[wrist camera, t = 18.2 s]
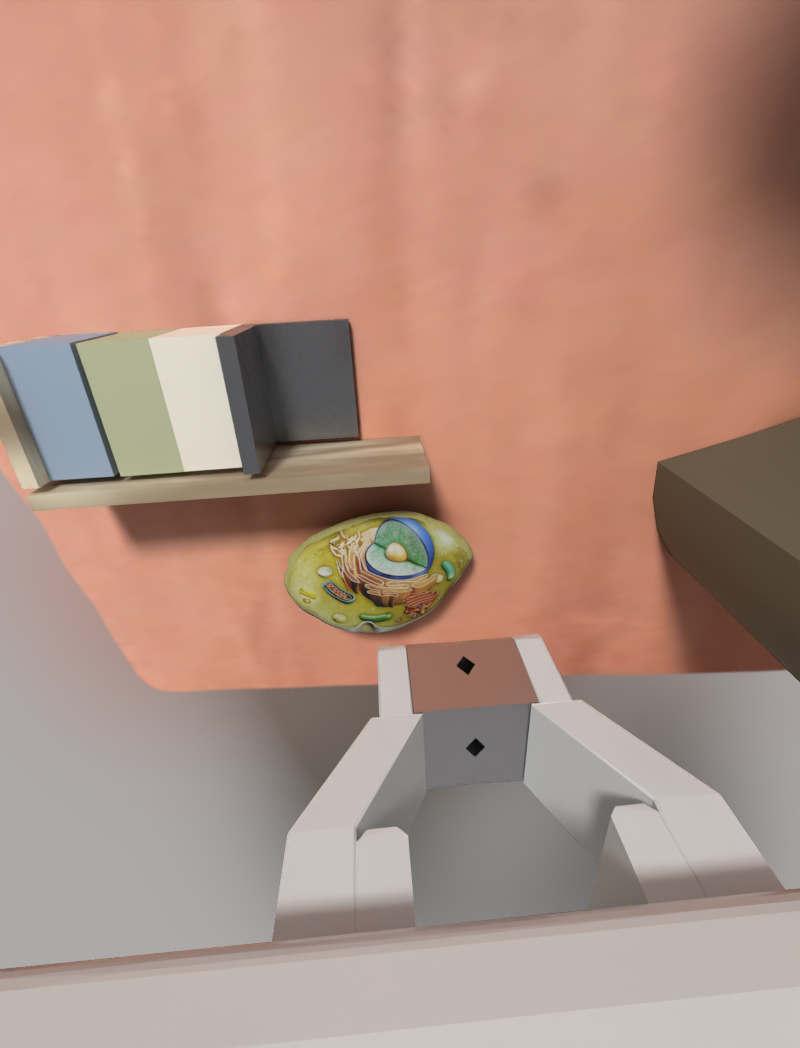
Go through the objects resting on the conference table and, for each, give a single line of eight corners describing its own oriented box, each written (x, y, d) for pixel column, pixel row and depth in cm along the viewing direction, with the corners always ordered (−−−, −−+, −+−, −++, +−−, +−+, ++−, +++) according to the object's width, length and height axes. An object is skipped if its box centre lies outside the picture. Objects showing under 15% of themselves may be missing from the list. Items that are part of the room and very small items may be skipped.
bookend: (243, 325, 33) (215, 336, 27) (348, 318, 33) (344, 329, 27) (264, 440, 36) (243, 474, 30) (358, 434, 37) (357, 467, 30)
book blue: (56, 335, 33) (-5, 347, 27) (117, 331, 33) (69, 343, 27) (96, 450, 36) (49, 480, 31) (150, 446, 36) (114, 476, 31)
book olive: (122, 332, 33) (75, 343, 27) (182, 328, 33) (147, 338, 28) (156, 446, 36) (120, 476, 31) (210, 443, 37) (184, 471, 31)
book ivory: (182, 328, 33) (147, 338, 28) (242, 324, 33) (219, 333, 28) (210, 442, 37) (184, 471, 31) (264, 438, 37) (247, 467, 31)
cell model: (264, 531, 38) (446, 524, 32) (312, 505, 44) (469, 497, 39) (290, 651, 40) (462, 663, 35) (332, 610, 47) (481, 615, 42)
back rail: (39, 336, 32) (-38, 351, 26) (414, 314, 33) (426, 323, 27) (88, 470, 37) (32, 511, 31) (419, 448, 38) (430, 482, 31)
